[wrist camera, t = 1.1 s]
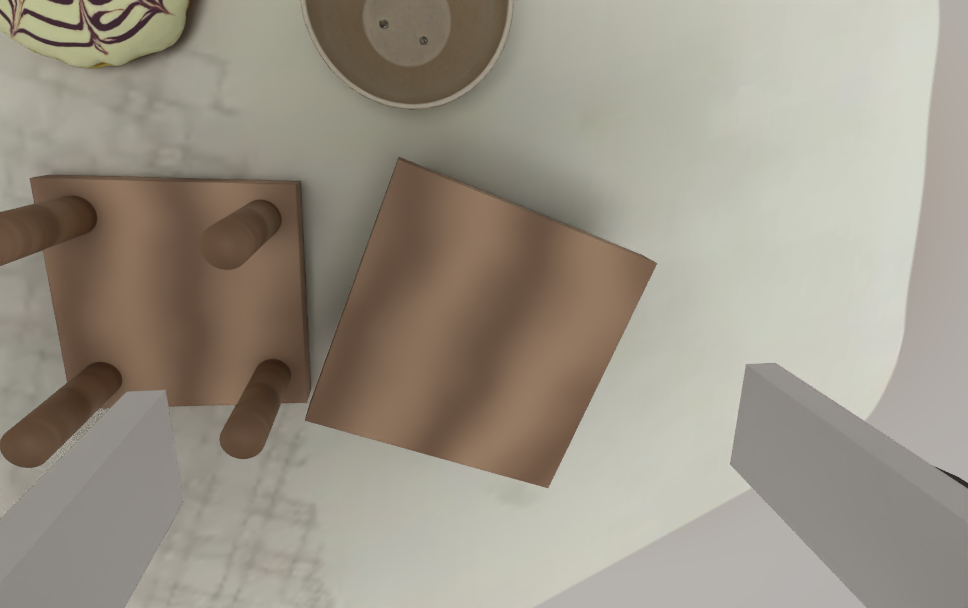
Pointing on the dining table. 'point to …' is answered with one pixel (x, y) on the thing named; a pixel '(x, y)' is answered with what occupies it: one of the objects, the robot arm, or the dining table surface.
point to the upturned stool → (167, 299)
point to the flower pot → (409, 46)
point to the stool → (475, 328)
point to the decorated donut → (94, 28)
